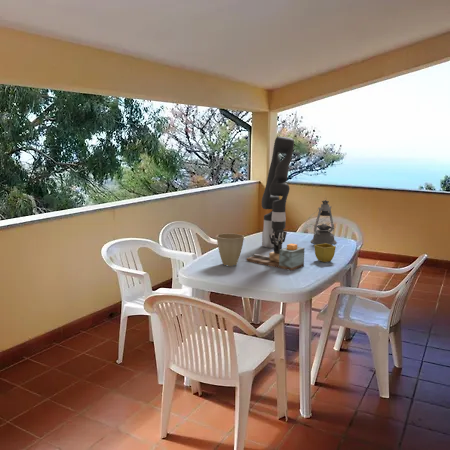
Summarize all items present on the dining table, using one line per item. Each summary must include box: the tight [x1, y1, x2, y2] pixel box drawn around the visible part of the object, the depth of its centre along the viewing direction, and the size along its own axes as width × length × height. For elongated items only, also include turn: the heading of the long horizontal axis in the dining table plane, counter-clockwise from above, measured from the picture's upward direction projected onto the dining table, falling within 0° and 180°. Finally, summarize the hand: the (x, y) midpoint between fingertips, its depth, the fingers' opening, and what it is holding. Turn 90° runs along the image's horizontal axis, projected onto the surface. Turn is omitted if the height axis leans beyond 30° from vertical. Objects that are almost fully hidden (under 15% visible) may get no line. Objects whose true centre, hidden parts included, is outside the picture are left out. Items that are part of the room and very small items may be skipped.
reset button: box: [286, 243, 298, 250], centre depth 246 cm, size 4×4×3 cm
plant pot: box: [216, 233, 245, 267], centre depth 251 cm, size 15×15×16 cm
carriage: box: [268, 243, 283, 262], centre depth 252 cm, size 7×6×10 cm
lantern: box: [305, 198, 338, 245], centre depth 307 cm, size 18×20×30 cm
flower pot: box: [313, 243, 337, 263], centre depth 260 cm, size 9×9×9 cm
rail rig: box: [246, 246, 305, 271], centre depth 254 cm, size 30×12×10 cm, turn 49°
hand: (277, 250), depth 252 cm, fingers closed on carriage, 3 cm apart
